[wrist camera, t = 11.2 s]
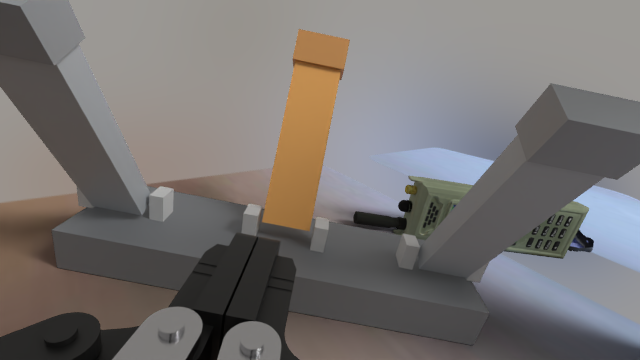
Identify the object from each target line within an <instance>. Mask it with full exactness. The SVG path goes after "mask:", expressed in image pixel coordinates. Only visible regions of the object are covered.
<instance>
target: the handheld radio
mask: <svg viewBox="0 0 640 360" xmlns="http://www.w3.org/2000/svg"><path fill="white" fill-rule="evenodd" d="M408 177H409V179H410V180H411V181H414V182H415V183H414V186H413V185H412V186H411V185H407V186H406V188H405V192H406V193H407V194H411V196H410V199H409V200H407V201H406V200H402V201H401V202H399V205H398V207H399V209H400V210H401V211H403V212H405V215H404V218H401V217H397V218H392V217H389V216H383V215H377V214H370V213H364V212H357V211H356V212H355V214H354V223H356V224H363V225H371V226H378V227H386V228H390V227H395V228H396V229H400V230H393V232H394V234H396V235H401V236H402V234H408V235H413V236H416V239H421V240H426V239H427V238H428V237H429V236H430V235H431V234H432V233H433V231H434V230H435V229H436V228H437V227H438V226H439V225H440V223H441V222H442V221H443V220H444V219H445V218H446V217H447V215H448V214H449V213H450V212H451V211H452V210H453V208H454V207H455V206H456V205H457V204H458V203H459V202H460V200H461V199H462V198H463V197H464V196H465V195H466V194H467V192H468V191H469V190H470V189H471V188H472V187H473V186H474V185H468V184H461V183H455V182H449V181H442V180H436V179H430V178H424V177H414V176H408ZM588 211H589V208H588V207H586V206H584V205H582V204H580V203H578V202H574V201H571V202H570V203H569V204H567V205H566V206H565V207H563V208H562V209H560V210H559V211H558V212H556V213H555V214H554V215H552V216H551V217H549V218H548V219H547V220H545V221H544V222H543V223H541V224H540V225H539V226H537V227H536V228H534V229H533V230H532V231H530V232H529V233H528V234H526V235H525V236H523V237H522V238H521V239H519V240H518V241H517V242H515V243H514V244H513V245H511V246H510V247H508V248H507V249H506V250H504V251H506V252H514V253H522V254H530V255H537V256H546V257H553V258H561V259H563V257H564V256H565V254H566V252H567V250H568V248H569V247H570V245H571V243H572V241H573V239H574V237H575V235H576V233H577V231H578V230H579V228H580V226H581V224H582V222H583V220H584V218H585V216H586V214H587V213H588Z"/></svg>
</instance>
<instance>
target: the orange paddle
mask: <svg viewBox="0 0 640 360" xmlns="http://www.w3.org/2000/svg"><path fill="white" fill-rule="evenodd" d="M349 41H350V40H348V39H343V38H338V37H333V36H329V35H324V34H320V33H315V32H310V31H305V30H301V29H299V31H298V36H297V41H296V46H295V50H294V55H293V66H294V70H293V75H292V80H291V85H290V90H289V94H288V99H287V104H286V109H285V114H284V118H283V123H282V128H281V133H280V138H279V142H278V148H277V152H276V157H275V161H274V166H273V171H272V176H271V181H270V185H269V190H268V195H267V200H266V205H265V209H264V214H263V219H262V222H264V223H270V224H275V225H280V226H285V227H290V228H295V229H301V230H306V231H310V226H311V221H312V216H313V211H314V206H315V201H316V196H317V191H318V185H319V180H320V175H321V170H322V165H323V159H324V155H325V150H326V145H327V139H328V134H329V129H330V124H331V119H332V114H333V108H334V104H335V99H336V93H337V88H338V83H339V80H341V78H342V75H343V71H344V66H345V62H346V56H347V51H348V46H349Z"/></svg>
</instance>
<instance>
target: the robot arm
mask: <svg viewBox="0 0 640 360" xmlns="http://www.w3.org/2000/svg"><path fill="white" fill-rule="evenodd" d="M280 242H281V241H279V240H274V239H269V238H264V237H259V239H258V236H254V235H249V234H244V233H239V232H237V233H236V234H235V236H234V237H233V239H232V241H231V243H230V244H229V246H226V245H221V244H216V245H215V246H213V247H212V248H210V249H208V250H207V251H205V253H204V254H203V256H202V257H201V259H200V260H199V262H198V264H197V265H196V266H195V268H194V269H193V271H192V273H191V274H190V275H189V277H188V278H187V280H186V281H185V283H184V284H183V286H182V287H181V289H180V290H179V292H178V293H177V295H176V296H175V298H174V299H173V301H172V302H171V304H170V305H169V307H168V308H165V309H161V310H159V311H157V312H155V313H153V314H152V315H150V316H149V317H148V318H147V319H146V320H145V321H144V322H143V323H142V324H141V325H140V326H137V327H132V328H123V329H110V330H100V323H99V321H98V320H97V319H96V318H95V317H94V316H92V315H90V314H86V313H80V312H74V313H66V314H61V315H58V316H55V317H52V318H49V319H47V320H44V321H41V322H39V323H36V324H34V325H31V326H28V327H26V328H23V329H21V330H18V331H15V332H13V333H10V334H7V335H5V336H2V337H0V360H299V359H298V358H297V357H296V356H294V355H293V354H292V352H291V351H290V350H289V348H288V347H287V344H286V342H285V337H284V332H285V326H286V321H287V316H288V311H289V305H290V300H291V295H292V290H293V285H294V280H295V275H296V270H297V269H296V267H295V264H294V261H293V259H292V258H287V257H282V256H278V254H279V249H280Z"/></svg>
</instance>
